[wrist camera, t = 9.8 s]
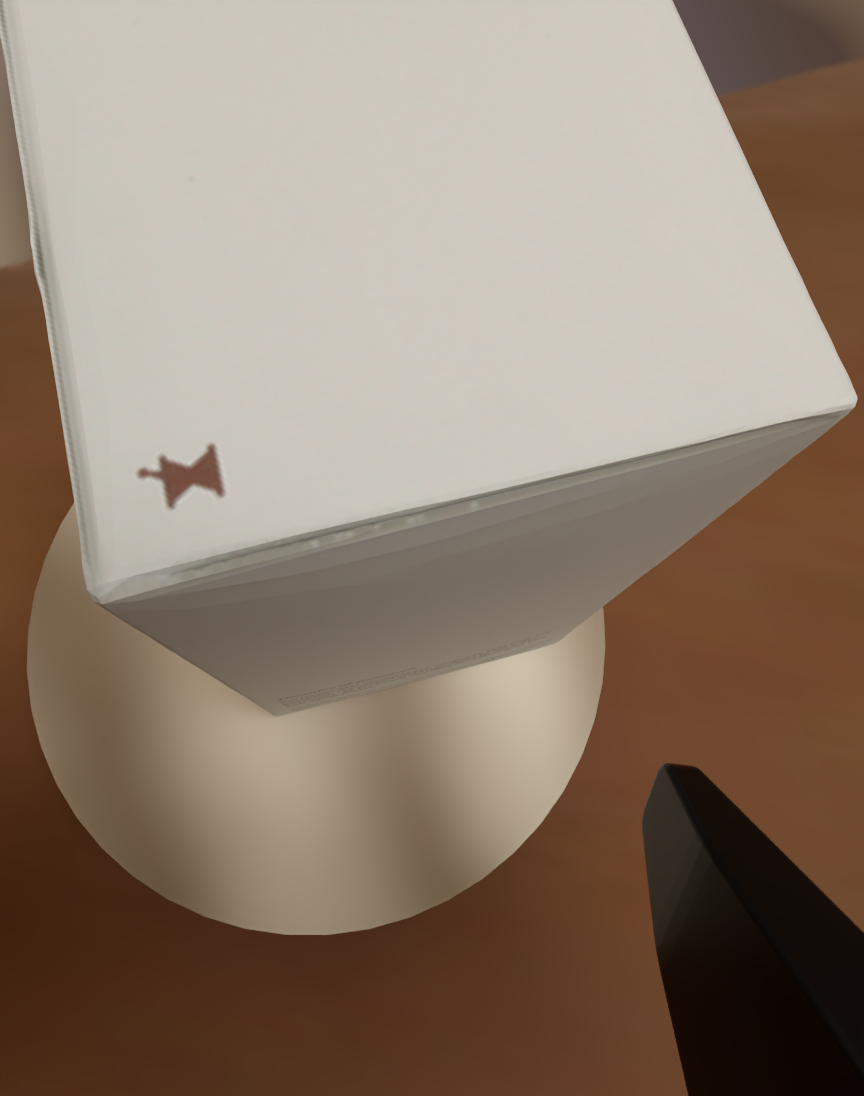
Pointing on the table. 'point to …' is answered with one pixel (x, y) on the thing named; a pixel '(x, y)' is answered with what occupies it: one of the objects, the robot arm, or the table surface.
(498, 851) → the stool
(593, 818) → the table surface
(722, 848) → the robot arm
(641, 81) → the supplement box
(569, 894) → the table surface
